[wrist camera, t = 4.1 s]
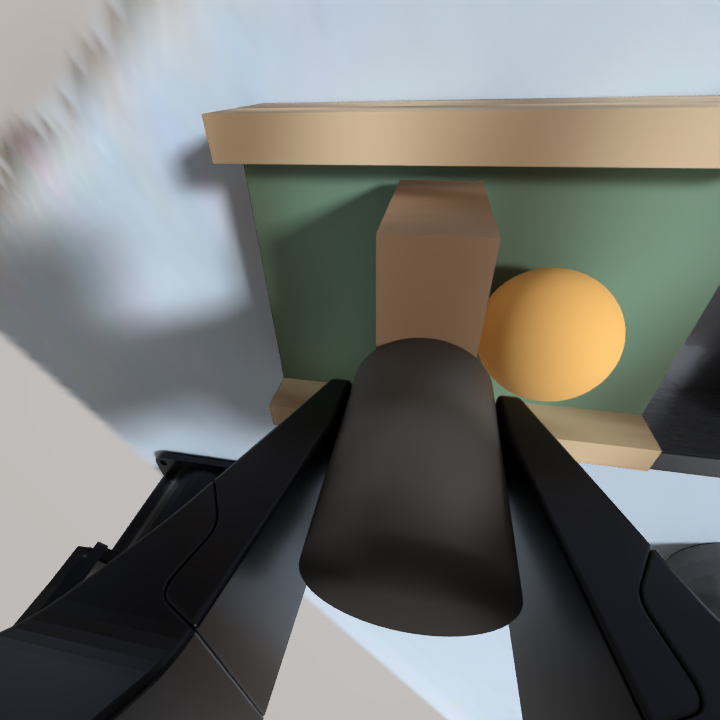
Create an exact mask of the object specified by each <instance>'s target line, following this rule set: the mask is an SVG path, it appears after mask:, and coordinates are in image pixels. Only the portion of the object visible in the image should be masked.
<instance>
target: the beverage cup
mask: <svg viewBox="0 0 720 720" xmlns="http://www.w3.org/2000/svg"><path fill="white" fill-rule="evenodd" d="M667 564H668V565H669V566H670V567H671V569H672V570H673V571H674V572H675V573H676V574H677V575H678V576H679V577H680V578H681V580H682V581H683V582H684V583H685V584H686V585H687V586H688V587H689V588H690V589H691V590H692V592H693V593H694V594H695V595H696V596H697V597H698V598H699V599H700V600H701V601H702V602H703V603H704V605H705V606H706V607H707V608H708V609H709V610H710V611H711V612H712V613H713V614H714V615H715V616H716V617H717V618H718V619H719V620H720V543H711V544H703V545H697V546H693V547H690V548H686V549H683V550H681V551H679V552H677V553H675V554H673V555H672V556H671V557H670V558H669V559H668V560H667Z"/></svg>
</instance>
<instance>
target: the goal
mask: <svg viewBox="0 0 720 720" xmlns="http://www.w3.org/2000/svg"><path fill="white" fill-rule="evenodd" d="M642 417H643V418H644V420H645V422H646V424H647V426H648V427H649V429H650V431H651V433H652V434H653V436H654V438H655V440H656V442H657V443H658V445H659V447H660V449H661V450H662V452H661V453H660V455H659V456H658V458H657V459H656V460H655V462H654V463H653V465H652V466H651V468H650V469H654V470H662V471H670V472H678V473H686V474H694V475H703V476H711V477H719V478H720V285H719V287H718V288H717V290H716V292H715V293H714V295H713V297H712V298H711V300H710V302H709V303H708V305H707V307H706V308H705V310H704V312H703V313H702V315H701V317H700V318H699V320H698V322H697V323H696V325H695V327H694V328H693V330H692V332H691V333H690V335H689V337H688V338H687V340H686V342H685V343H684V345H683V347H682V348H681V350H680V352H679V353H678V355H677V357H676V358H675V360H674V362H673V363H672V365H671V367H670V368H669V370H668V372H667V373H666V375H665V377H664V378H663V380H662V382H661V383H660V385H659V387H658V388H657V390H656V392H655V393H654V395H653V397H652V398H651V400H650V402H649V403H648V405H647V407H646V408H645V410H644V412H643V413H642Z"/></svg>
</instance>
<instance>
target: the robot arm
mask: <svg viewBox="0 0 720 720" xmlns="http://www.w3.org/2000/svg"><path fill="white" fill-rule="evenodd" d="M351 388H352V384H351V382H350V381H349V380H345V379H332V380H330V381H329V382H328V383H326V384H325V385H324V386H323V387H322V388H321V389H320V390H318V391H317V392H316V393H315V394H314V395H313V396H311V397H310V398H309V399H308V400H307V401H306V402H304V403H303V404H302V405H301V406H300V407H299V408H297V409H296V410H295V411H294V412H293V413H292V414H290V415H289V416H288V417H287V418H286V419H285V420H283V421H282V422H281V423H280V424H279V425H278V426H276V427H275V428H274V429H273V430H272V431H271V432H270V433H268V434H267V435H266V436H265V437H264V438H263V439H261V440H260V441H259V442H258V443H257V444H256V445H254V446H253V447H252V448H251V449H250V450H249V451H247V452H246V453H245V454H244V455H243V456H242V457H240V458H239V459H238V460H237V461H236V462H235V463H234V462H227V461H220V460H213V459H206V458H199V457H192V456H185V455H178V454H171V453H160V454H159V456H158V457H157V458H156V462H157V464H158V466H159V468H160V470H161V471H162V473H163V475H164V476H163V478H162V479H161V481H160V482H159V483H158V485H157V486H156V488H155V489H154V491H153V492H152V493H151V495H150V496H149V498H148V499H147V501H146V502H145V503H144V505H143V506H142V508H141V509H140V511H139V512H138V513H137V515H136V516H135V518H134V519H133V520H132V522H131V523H130V525H129V526H128V528H127V529H126V531H125V532H124V533H123V535H122V536H121V538H120V539H119V540H118V542H117V543H116V545H115V546H114V548H113V549H112V550H110V549H108V548H107V547H108V546H107V545H105V544H103V543H100V542H97V544H96V545H95V547H94V548H91V547H81V546H78V547H77V548H76V549H75V551H74V552H73V553H72V555H71V556H70V557H69V558H68V560H67V561H66V562H65V564H64V565H63V566H62V567H61V569H60V570H59V571H58V572H57V574H56V575H55V576H54V578H53V579H52V580H51V581H50V582H49V584H48V585H47V586H46V587H45V588H44V590H43V591H42V592H41V593H40V595H39V596H38V597H37V598H36V599H35V600H34V602H33V603H32V604H31V605H30V606H29V608H28V609H27V610H26V611H25V612H24V614H23V615H22V616H21V617H20V618H19V619H18V621H17V622H16V623H15V624H14V625H13V626H12V627H10V628H8V629H6V630H4V631H2V632H0V720H263V716H264V715H265V712H266V709H267V706H268V703H269V700H270V697H271V694H272V690H273V687H274V684H275V681H276V678H277V675H278V672H279V669H280V666H281V663H282V659H283V656H284V653H285V650H286V647H287V644H288V640H289V637H290V634H291V631H292V628H293V625H294V622H295V618H296V616H297V612H298V610H299V606H300V603H301V600H302V597H303V594H304V591H305V588H306V584H305V582H304V580H303V579H302V577H301V574H300V572H299V559H300V556H301V552H302V549H303V546H304V542H305V539H306V536H307V533H308V529H309V526H310V523H311V519H312V516H313V513H314V510H315V506H316V503H317V500H318V496H319V493H320V490H321V487H322V483H323V480H324V477H325V474H326V470H327V467H328V464H329V460H330V457H331V454H332V451H333V447H334V444H335V441H336V437H337V434H338V431H339V428H340V424H341V421H342V418H343V414H344V411H345V408H346V405H347V401H348V398H349V395H350V391H351ZM495 405H496V412H497V419H498V426H499V433H500V440H501V447H502V454H503V461H504V468H505V475H506V482H507V489H508V496H509V503H510V510H511V517H512V524H513V531H514V538H515V546H516V553H517V560H518V567H519V574H520V581H521V588H522V595H523V607H522V610H521V612H520V614H519V615H518V616H517V618H516V619H515V620H513V621H512V622H511V623H510V624H509V629H510V636H511V643H512V650H513V657H514V663H515V670H516V677H517V684H518V690H519V697H520V704H521V711H522V718H523V720H720V620H719V619H718V618H717V617H716V616H715V615H714V614H713V613H712V612H711V611H710V610H709V609H708V608H707V607H706V606H705V605H704V603H703V602H702V601H701V600H700V599H699V598H698V597H697V596H696V595H695V594H694V593H693V592H692V590H691V589H690V588H689V587H688V586H687V585H686V584H685V583H684V582H683V581H682V580H681V578H680V577H679V576H678V575H677V574H676V573H675V572H674V571H673V570H672V569H671V567H670V566H669V565H668V564H667V563H666V562H665V561H664V559H663V558H662V557H661V556H660V555H659V554H658V553H657V552H656V551H655V550H651V545H650V544H649V543H648V542H647V541H646V539H645V538H644V537H643V536H642V535H641V534H640V533H639V532H638V530H637V529H636V528H635V527H634V526H633V525H632V524H631V522H630V521H629V520H628V519H627V518H626V517H625V516H624V515H623V513H622V512H621V511H620V510H619V509H618V508H617V507H616V506H615V504H614V503H613V502H612V501H611V500H610V499H609V498H608V497H607V495H606V494H605V493H604V492H603V491H602V490H601V489H600V487H599V486H598V485H597V484H596V483H595V482H594V481H593V480H592V478H591V477H590V476H589V475H588V474H587V473H586V472H585V471H584V469H583V468H582V467H581V466H580V465H579V464H578V463H577V461H576V460H575V459H574V458H573V457H572V456H571V455H570V454H569V452H568V451H567V450H566V449H565V448H564V447H563V446H562V445H561V443H560V442H559V441H558V440H557V439H556V438H555V437H554V436H553V434H552V433H551V432H550V431H549V430H548V429H547V428H546V426H545V425H544V424H543V423H542V422H541V421H540V420H539V419H538V417H537V416H536V415H535V414H534V413H533V412H532V411H531V410H530V408H529V407H528V406H527V405H526V404H525V403H524V402H523V400H522V399H520V398H519V397H514V396H504V395H501V396H499V397H498V398H497V400H496V403H495Z"/></svg>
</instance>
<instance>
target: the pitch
mask: <svg viewBox="0 0 720 720" xmlns="http://www.w3.org/2000/svg"><path fill="white" fill-rule="evenodd" d="M202 118H203V123H204V127H205V131H206V135H207V140H208V144H209V148H210V153H211V157H212V161H213V164H244V168H245V173H246V179H247V184H248V189H249V195H250V200H251V205H252V211H253V216H254V221H255V226H256V232H257V237H258V242H259V248H260V253H261V258H262V264H263V269H264V274H265V279H266V285H267V290H268V295H269V301H270V306H271V311H272V317H273V322H274V327H275V333H276V338H277V343H278V348H279V354H280V359H281V364H282V370H283V375H284V379H283V381H282V383H281V384H280V386H279V388H278V390H277V392H276V394H275V396H274V397H273V399H272V401H271V403H270V405H269V406H270V411H271V415H272V419H273V424H276V425H279V424H280V423H281V422H282V421H283V420H285V419H286V418H287V417H288V416H289V415H290V414H292V413H293V412H294V411H295V410H296V409H297V408H299V407H300V406H301V405H302V404H303V403H304V402H306V401H307V400H308V399H309V398H310V397H311V396H313V395H314V394H315V393H316V392H317V391H318V390H320V389H321V388H322V387H323V386H324V385H325V384H326V383H328V382H329V381H330V380H332V379H345V380H349V381H350V382H351V384H352V385H353V382H354V378H355V375H356V373H357V370H358V368H359V366H360V365H361V363H362V362H363V361H364V359H365V358H366V357H367V356H368V355H369V354H371V353H372V352H373V351H374V350H376V233H377V231H378V228H379V226H380V224H381V221H382V219H383V217H384V215H385V212H386V210H387V208H388V206H389V203H390V201H391V199H392V197H393V194H394V192H395V190H396V188H397V185H398V183H399V181H400V180H448V181H483V183H484V187H485V190H486V193H487V196H488V199H489V202H490V206H491V209H492V212H493V215H494V218H495V221H496V225H497V228H498V231H499V234H500V237H501V240H500V245H499V250H498V255H497V259H496V264H495V269H494V274H493V279H492V284H491V289H490V294H489V298H490V296H491V295H492V294H493V293H494V292H495V291H496V290H497V289H498V288H499V287H500V286H501V285H503V284H504V283H505V282H507V281H508V280H510V279H512V278H513V277H515V276H517V275H519V274H522V273H524V272H527V271H530V270H535V269H539V268H547V267H559V268H567V269H571V270H575V271H579V272H582V273H584V274H587V275H588V276H590V277H592V278H594V279H595V280H597V281H599V282H600V283H601V284H602V285H604V286H605V287H606V288H607V289H608V290H609V291H610V293H611V294H612V295H613V296H614V298H615V299H616V301H617V303H618V304H619V306H620V308H621V311H622V313H623V317H624V321H625V327H626V332H625V344H624V349H623V352H622V354H621V357H620V359H619V361H618V363H617V365H616V367H615V368H614V369H613V371H612V372H611V373H610V375H609V376H608V377H607V378H606V379H605V380H604V381H603V382H601V383H600V384H599V385H598V386H596V387H595V388H593V389H592V390H590V391H588V392H587V393H585V394H583V395H580V396H578V397H575V398H571V399H568V400H563V401H554V402H545V401H535V400H530V399H526V398H523V397H520V396H518V395H515V394H513V393H511V392H509V391H508V390H506V389H505V388H503V387H502V386H501V385H499V384H498V383H497V382H496V381H495V380H494V379H493V378H492V377H491V376H490V374H489V373H488V374H489V376H490V378H491V381H492V385H493V391H494V398H495V403H496V400H497V398H498V397H499V396H501V395H504V396H514V397H519V398H520V399H522V400H523V402H524V403H525V404H526V405H527V406H528V407H529V408H530V410H531V411H532V412H533V413H534V414H535V415H536V416H537V417H538V419H539V420H540V421H541V422H542V423H543V424H544V425H545V426H546V428H547V429H548V430H549V431H550V432H551V433H552V434H553V436H554V437H555V438H556V439H557V440H558V441H559V442H560V443H561V445H562V446H563V447H564V448H565V449H566V450H567V451H568V452H569V454H570V455H571V456H572V457H573V458H574V459H575V460H576V461H577V462H579V463H587V464H595V465H603V466H611V467H619V468H627V469H635V470H643V471H648V470H649V469H650V468H651V466H652V465H653V463H654V462H655V460H656V459H657V458H658V456H659V455H660V453H661V452H662V450H661V449H660V447H659V445H658V443H657V442H656V440H655V438H654V436H653V434H652V433H651V431H650V429H649V427H648V426H647V424H646V422H645V420H644V418H643V417H642V413H643V412H644V410H645V408H646V407H647V405H648V403H649V402H650V400H651V398H652V397H653V395H654V393H655V392H656V390H657V388H658V387H659V385H660V383H661V382H662V380H663V378H664V377H665V375H666V373H667V372H668V370H669V368H670V367H671V365H672V363H673V362H674V360H675V358H676V357H677V355H678V353H679V352H680V350H681V348H682V347H683V345H684V343H685V342H686V340H687V338H688V337H689V335H690V333H691V332H692V330H693V328H694V327H695V325H696V323H697V322H698V320H699V318H700V317H701V315H702V313H703V312H704V310H705V308H706V307H707V305H708V303H709V302H710V300H711V298H712V297H713V295H714V293H715V292H716V290H717V288H718V287H719V285H720V95H705V96H649V97H592V98H536V99H480V100H424V101H368V102H312V103H262V104H257V105H251V106H245V107H239V108H237V109H228V110H222V111H216V112H211V113H205V114H202ZM477 359H478V360H479V361H480V362H481V359H480V357H479V354H478V353H477ZM481 364H482V362H481ZM482 365H483V364H482Z"/></svg>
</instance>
